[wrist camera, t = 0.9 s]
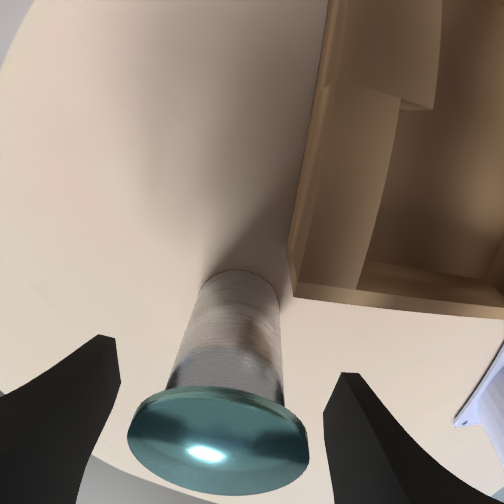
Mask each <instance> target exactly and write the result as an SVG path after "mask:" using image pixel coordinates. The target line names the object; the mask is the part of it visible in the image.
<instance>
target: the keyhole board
mask: <svg viewBox="0 0 504 504" xmlns="http://www.w3.org/2000/svg"><path fill="white" fill-rule="evenodd" d="M286 252H287V259H288V265H289V271H290V277H291V284H292V290H293V297H297V298H304V299H311V300H319V301H327V302H334V303H342V304H350V305H359V306H367V307H376V308H384V309H393V310H403V311H412V312H422V313H432V314H442V315H453V316H465V317H477V318H489V319H503V320H504V0H329V1H328V9H327V16H326V23H325V30H324V37H323V43H322V50H321V56H320V63H319V69H318V75H317V82H316V88H315V94H314V100H313V106H312V112H311V117H310V123H309V129H308V135H307V140H306V146H305V151H304V157H303V162H302V168H301V173H300V179H299V184H298V189H297V194H296V200H295V205H294V210H293V215H292V220H291V225H290V230H289V235H288V240H287V245H286Z"/></svg>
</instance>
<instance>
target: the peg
mask: <svg viewBox="0 0 504 504" xmlns="http://www.w3.org/2000/svg"><path fill="white" fill-rule="evenodd" d="M127 440H128V445H129V447H130V450H131V451H132V453H133V455H134V456H135V457H136V459H137V460H138V461H139V462H140V463H141V464H142V465H143V466H144V467H146V468H147V469H148V470H150V471H151V472H152V473H154V474H155V475H157V476H159V477H161V478H162V479H164V480H166V481H168V482H171V483H173V484H175V485H178V486H181V487H183V488H187V489H190V490H193V491H198V492H202V493H208V494H214V495H225V496H243V495H254V494H260V493H265V492H269V491H273V490H276V489H279V488H281V487H284V486H286V485H288V484H290V483H291V482H293V481H294V480H296V479H297V478H298V477H299V476H301V475H302V474H303V472H304V471H305V470H306V468H307V466H308V464H309V447H308V438H307V432H306V429H305V427H304V425H303V424H302V422H301V421H300V420H299V419H298V418H297V417H296V415H294V414H293V413H292V412H291V411H289V410H288V409H287V408H285V404H284V385H283V368H282V351H281V335H280V319H279V304H278V299H277V296H276V293H275V291H274V290H273V288H272V287H271V286H270V284H269V283H268V282H267V281H265V280H264V279H263V278H261V277H260V276H258V275H256V274H253V273H250V272H247V271H241V270H231V271H225V272H222V273H219V274H217V275H215V276H213V277H211V278H210V279H209V280H208V281H207V282H206V283H205V284H204V285H203V287H202V288H201V290H200V292H199V295H198V298H197V300H196V303H195V306H194V309H193V311H192V314H191V317H190V320H189V323H188V325H187V328H186V331H185V334H184V337H183V339H182V342H181V345H180V348H179V351H178V354H177V357H176V360H175V363H174V365H173V368H172V371H171V374H170V377H169V380H168V383H167V386H166V389H165V390H164V391H161V392H159V393H156V394H154V395H152V396H150V397H148V398H147V399H146V400H144V401H143V402H142V403H141V404H140V405H139V407H138V408H137V410H136V412H135V414H134V417H133V419H132V422H131V425H130V427H129V430H128V434H127Z"/></svg>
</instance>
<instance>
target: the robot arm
mask: <svg viewBox="0 0 504 504" xmlns="http://www.w3.org/2000/svg"><path fill="white" fill-rule="evenodd" d="M120 384H121V379H120V372H119V365H118V358H117V350H116V341H115V338H112V337H108V336H104V335H100V334H98V335H97V336H95V337H94V338H92V339H91V340H89V341H88V342H87V343H85V344H84V345H82V346H81V347H80V348H78V349H77V350H76V351H74V352H73V353H71V354H70V355H69V356H67V357H66V358H64V359H63V360H62V361H60V362H59V363H57V364H56V365H55V366H53V367H52V368H50V369H49V370H47V371H46V372H44V373H42V374H41V375H39V376H38V377H36V378H35V379H33V380H31V381H30V382H28V383H27V384H25V385H23V386H21V387H19V388H18V389H16V390H14V391H12V392H10V393H8V394H6V395H4V396H2V397H0V504H75V503H76V499H77V495H78V491H79V487H80V484H81V480H82V477H83V473H84V470H85V467H86V465H87V462H88V460H89V457H90V455H91V453H92V451H93V449H94V446H95V444H96V442H97V440H98V438H99V436H100V434H101V432H102V430H103V427H104V425H105V423H106V421H107V419H108V417H109V415H110V413H111V410H112V408H113V406H114V403H115V400H116V397H117V394H118V391H119V387H120ZM476 424H482V426H483V428H484V430H485V432H486V434H487V436H488V438H489V439H490V441H491V443H492V445H493V447H494V449H495V451H496V454H497V456H498V458H499V460H500V462H501V464H502V466H503V468H504V345H503V346H502V348H501V350H500V352H499V354H498V355H497V357H496V359H495V360H494V362H493V364H492V365H491V367H490V369H489V370H488V372H487V374H486V375H485V377H484V378H483V380H482V381H481V383H480V384H479V386H478V387H477V389H476V390H475V392H474V393H473V395H472V396H471V398H470V399H469V401H468V402H467V403H466V405H465V406H464V408H463V409H462V410H461V412H460V413H459V414H458V416H457V417H456V418H455V420H454V421H453V426H454V427H455V428H458V427H464V426H470V425H476ZM323 425H324V441H325V447H326V453H327V459H328V464H329V470H330V476H331V481H332V487H333V493H334V502H335V504H504V503H503V502H500V501H498V500H496V499H494V498H492V497H489V496H487V495H485V494H484V493H482V492H480V491H478V490H476V489H475V488H473V487H471V486H470V485H468V484H467V483H465V482H463V481H462V480H460V479H459V478H458V477H456V476H455V475H453V474H452V473H451V472H449V471H448V470H447V469H445V468H444V467H443V466H442V465H440V464H439V463H438V462H437V461H436V460H435V459H433V458H432V457H431V456H430V455H429V454H428V453H427V452H426V451H425V450H424V449H422V448H421V447H420V446H419V445H418V444H417V443H416V441H415V440H414V439H413V438H412V437H411V436H410V435H409V434H408V433H407V432H406V431H405V430H404V429H403V427H402V426H401V425H400V424H399V423H398V422H397V420H396V419H395V418H394V417H393V416H392V414H391V413H390V412H389V411H388V410H387V408H386V407H385V406H384V405H383V403H382V402H381V401H380V399H379V398H378V397H377V396H376V394H375V393H374V392H373V390H372V389H371V388H370V387H369V385H368V384H367V383H366V381H365V380H364V379H363V378H362V376H361V375H360V374H359V373H345V372H341V375H340V377H339V379H338V381H337V384H336V386H335V388H334V390H333V393H332V395H331V397H330V399H329V401H328V403H327V405H326V408H325V410H324V412H323Z"/></svg>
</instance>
